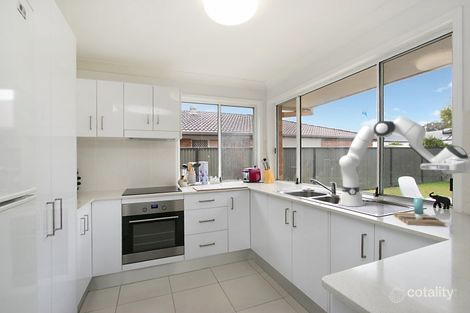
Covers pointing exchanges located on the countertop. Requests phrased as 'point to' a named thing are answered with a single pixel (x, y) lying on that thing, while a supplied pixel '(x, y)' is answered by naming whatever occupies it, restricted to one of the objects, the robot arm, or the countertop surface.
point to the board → (410, 219)
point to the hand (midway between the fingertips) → (429, 167)
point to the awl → (418, 208)
